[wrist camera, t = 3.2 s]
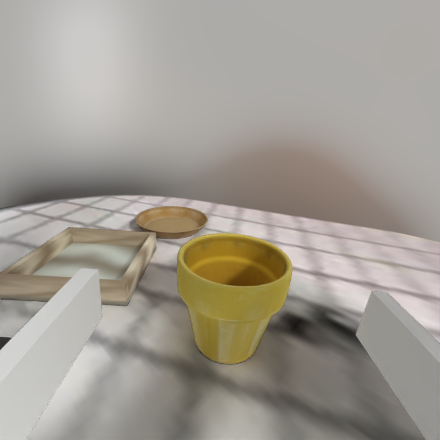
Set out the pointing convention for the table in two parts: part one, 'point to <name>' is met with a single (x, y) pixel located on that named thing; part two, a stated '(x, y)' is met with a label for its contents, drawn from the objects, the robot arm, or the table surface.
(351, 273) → the table surface
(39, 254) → the tray
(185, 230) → the plant saucer
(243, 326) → the plant pot
